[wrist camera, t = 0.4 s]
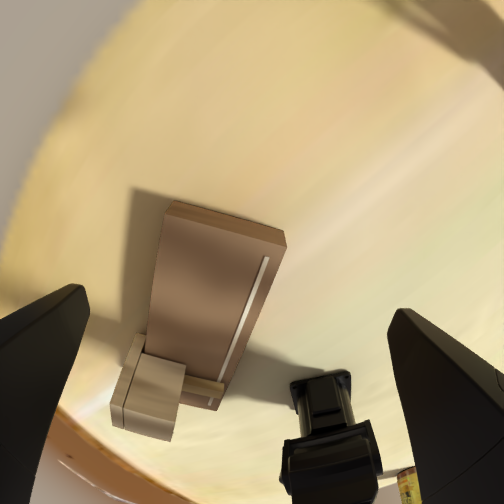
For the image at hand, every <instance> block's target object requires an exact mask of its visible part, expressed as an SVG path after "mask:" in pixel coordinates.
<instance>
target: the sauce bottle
mask: <svg viewBox="0 0 504 504" xmlns="http://www.w3.org/2000/svg"><path fill="white" fill-rule="evenodd" d="M397 479H398V480H397V483H398V487H399V491H400V496H401V501H402V504H422V503H421V502H422V501H421V496H420V489H419V483H418V478H417V472H416V467H412V468H409V469H407V470H405V471H403V472H401V473H399V474H398V475H397Z"/></svg>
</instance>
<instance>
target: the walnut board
mask: <svg viewBox="0 0 504 504" xmlns="http://www.w3.org/2000/svg"><path fill="white" fill-rule="evenodd" d="M286 249H287V245H286V240H285V235H284V231H282V230H278V229H275V228H271V227H268V226H264V225H261V224H258V223H254V222H250V221H247V220H243V219H240V218H236V217H233V216H229V215H225V214H222V213H218V212H215V211H211V210H207V209H204V208H200V207H196V206H192V205H189V204H185V203H181V202H177V201H173V202H172V204H171V205H170V207H169V208H168V210H167V211H166V212H165V215H164V220H163V225H162V230H161V236H160V241H159V247H158V253H157V259H156V265H155V272H154V279H153V285H152V293H151V300H150V308H149V316H148V324H147V333H146V343H145V354H147V355H150V356H153V357H157V358H161V359H164V360H168V361H172V362H176V363H179V364H183V365H186V369H185V374H184V375H188V376H192V377H197V378H201V379H205V380H210V381H214V382H219V383H224V392H223V395H222V397H221V399H218V398H213V397H208V396H203V395H199V394H194V393H190V392H186V391H182V390H181V395H180V400H179V403H181V404H185V405H190V406H194V407H199V408H203V409H208V410H213V411H217V409H218V407H219V405H220V403H221V401H222V398H223V396H224V394H225V392H226V390H227V387H228V385H229V383H230V381H231V378H232V376H233V374H234V372H235V369H236V367H237V365H238V363H239V360H240V358H241V356H242V353H243V351H244V349H245V347H246V344H247V342H248V340H249V337H250V335H251V333H252V330H253V328H254V326H255V323H256V321H257V319H258V316H259V314H260V312H261V309H262V307H263V304H264V302H265V300H266V297H267V295H268V293H269V290H270V288H271V285H272V283H273V280H274V278H275V276H276V273H277V271H278V268H279V266H280V263H281V261H282V259H283V256H284V254H285V251H286Z"/></svg>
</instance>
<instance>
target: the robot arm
mask: <svg viewBox="0 0 504 504" xmlns="http://www.w3.org/2000/svg"><path fill="white" fill-rule="evenodd" d="M89 315H90V307H89V303H88V299H87V295H86V291H85V288H84V286H83V285H80V284H73V283H72V284H68V285H66V286H64V287H62V288H60V289H58V290H56V291H54V292H52V293H50V294H48V295H46V296H44V297H42V298H40V299H38V300H36V301H35V302H33V303H31V304H29V305H27V306H25V307H23V308H21V309H19V310H17V311H15V312H13V313H11V314H10V315H8V316H6V317H4V318H2V319H0V504H29V502H30V497H31V493H32V489H33V485H34V481H35V475H36V472H37V468H38V465H39V461H40V457H41V454H42V450H43V447H44V444H45V441H46V438H47V434H48V431H49V428H50V425H51V422H52V419H53V416H54V414H55V411H56V408H57V405H58V402H59V400H60V397H61V394H62V392H63V389H64V386H65V384H66V381H67V379H68V376H69V374H70V371H71V369H72V366H73V364H74V361H75V359H76V356H77V353H78V350H79V346H80V343H81V340H82V337H83V334H84V331H85V328H86V324H87V321H88V319H89ZM387 339H388V344H389V349H390V355H391V360H392V366H393V372H394V377H395V382H396V386H397V389H398V393H399V397H400V401H401V405H402V409H403V413H404V417H405V421H406V425H407V429H408V433H409V438H410V442H411V447H412V452H413V457H414V462H415V467H416V472H417V478H418V483H419V489H420V496H421V501H422V502H421V503H422V504H504V374H503V373H502V372H500V371H499V370H498V369H495V368H494V367H493V366H492V365H491V364H489V363H488V362H486V361H485V360H484V359H482V358H481V357H480V356H478V355H477V354H475V353H474V352H473V351H471V350H470V349H468V348H467V347H466V346H464V345H463V344H461V343H460V342H458V341H457V340H456V339H454V338H453V337H451V336H450V335H448V334H447V333H446V332H444V331H443V330H441V329H440V328H438V327H437V326H435V325H434V324H433V323H431V322H430V321H428V320H427V319H425V318H424V317H422V316H421V315H419V314H418V313H416V312H415V311H413V310H412V309H410V308H399V309H397V310H396V312H395V314H394V316H393V319H392V321H391V324H390V326H389V328H388V332H387ZM290 390H291V394H292V398H293V402H294V406H295V410H296V414H297V415H299V423H300V433H301V438H296V439H291V440H290V439H287V440H284V447H283V448H282V449H283V452H282V468H281V472H280V476H279V481H280V483H282V484H283V485H284V487H285V489H286V492H287V494H288V495H291V496H292V504H374V502H375V500H376V497H377V493H378V482H377V477H376V476H380V475H383V468H382V462H381V457H380V453H379V449H378V446H377V442H376V439H375V436H374V432H373V429H372V426H371V423H370V420H369V419H368V420H365V421H364V422H361V423H358V424H356V423H355V419H354V415H353V410H352V406H351V374H350V372H348V371H347V372H342V373H338V374H333V375H328V376H323V377H318V378H313V379H308V380H303V381H297V382H292V383H291V384H290Z"/></svg>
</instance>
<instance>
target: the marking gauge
mask: <svg viewBox="0 0 504 504" xmlns="http://www.w3.org/2000/svg"><path fill="white" fill-rule="evenodd" d="M145 343H146V335H143V334H140V333H136V335H135V338H134V340H133V343H132V345H131V348H130V350H129V353H128V355H127V358H126V360H125V363H124V366H123V368H122V371H121V374H120V376H119V379H118V382H117V384H116V387H115V390H114V393H113V395H112V398H111V401H110V411H111V419H112V426H115V427H118V428H121V429H124V427H125V430H128V431H131V432H134V433H138V434H141V435H145V436H148V437H152V438H156V439H160V440H164V441H168V442H171V438H172V434H173V430H174V426H175V422H176V416H177V411H178V405H179V400H180V395H181V390H182V391H186V392H190V393H194V394H199V395H203V396H208V397H213V398H218V399H221V397H222V395H223V392H224V383H219V382H214V381H210V380H205V379H201V378H197V377H192V376H188V375H184V374H185V369H186V365H183V364H179V363H176V362H172V361H168V360H164V359H161V358H157V357H153V356H150V355H147V354H145Z"/></svg>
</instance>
